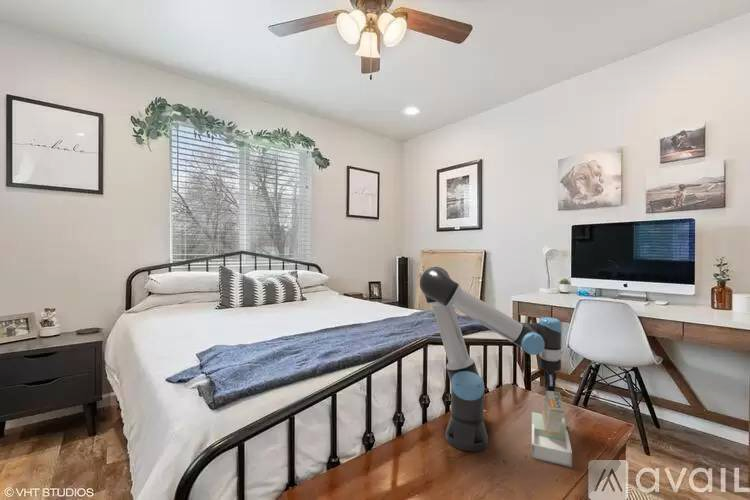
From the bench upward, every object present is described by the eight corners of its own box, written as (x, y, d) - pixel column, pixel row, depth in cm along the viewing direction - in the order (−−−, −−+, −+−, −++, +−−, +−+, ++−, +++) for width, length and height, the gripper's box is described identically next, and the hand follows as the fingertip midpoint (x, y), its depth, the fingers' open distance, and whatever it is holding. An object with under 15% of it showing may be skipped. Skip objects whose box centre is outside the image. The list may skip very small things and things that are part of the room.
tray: (531, 457, 119) (531, 444, 119) (531, 435, 133) (531, 423, 133) (571, 467, 114) (572, 453, 114) (567, 443, 128) (567, 431, 128)
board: (531, 435, 133) (531, 427, 133) (531, 419, 146) (531, 411, 146) (567, 443, 128) (567, 435, 128) (564, 425, 141) (564, 418, 141)
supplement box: (559, 434, 129) (565, 411, 123) (545, 432, 130) (550, 409, 124) (555, 414, 136) (560, 391, 130) (541, 413, 137) (546, 390, 131)
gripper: (562, 365, 129) (562, 427, 130) (559, 354, 140) (559, 411, 141) (540, 362, 132) (539, 424, 133) (538, 352, 143) (538, 408, 144)
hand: (549, 417), depth 137 cm, fingers closed
